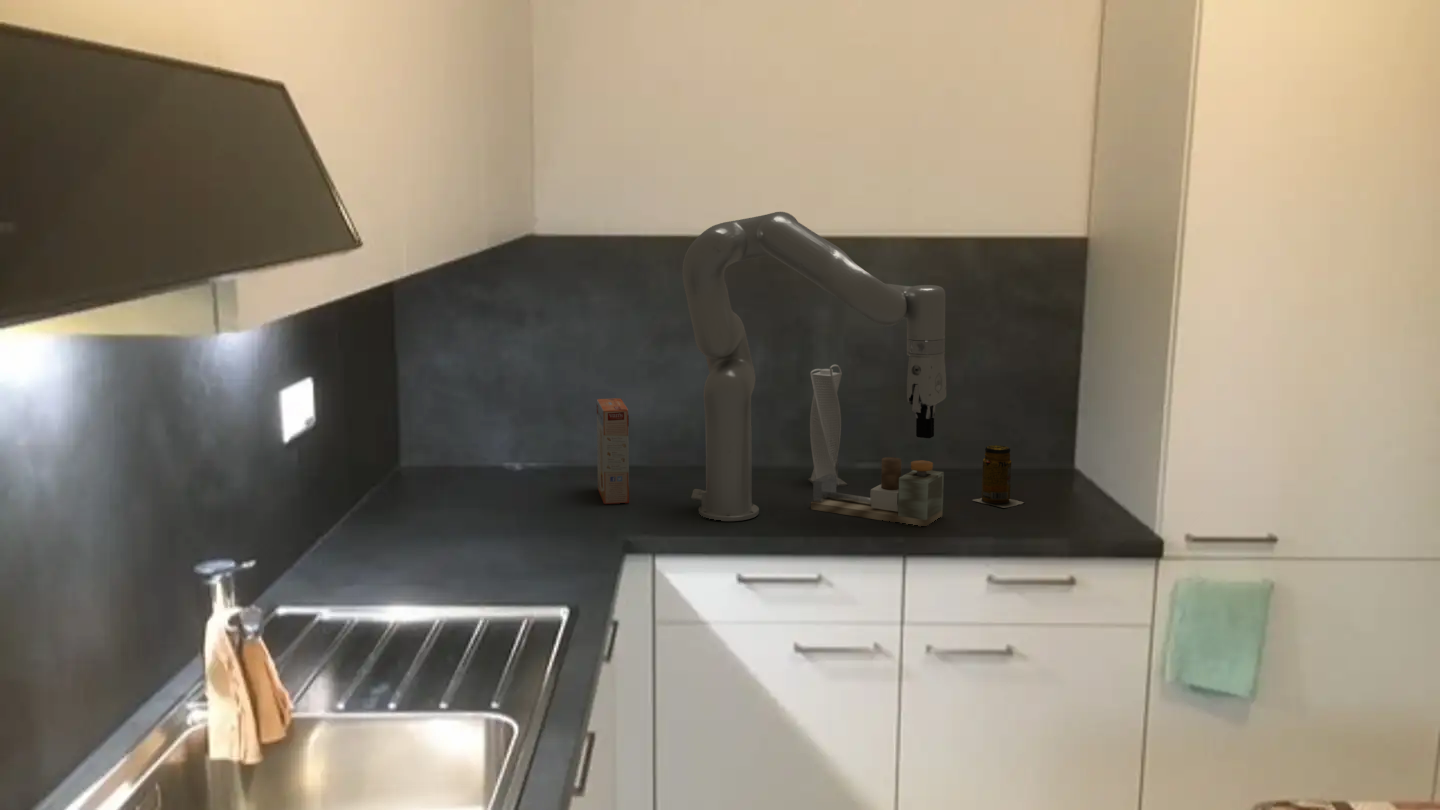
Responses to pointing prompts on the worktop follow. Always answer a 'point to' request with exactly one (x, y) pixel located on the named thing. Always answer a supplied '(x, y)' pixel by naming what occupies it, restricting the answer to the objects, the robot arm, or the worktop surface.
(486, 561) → the worktop surface
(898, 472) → the carriage
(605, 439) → the cracker box
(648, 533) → the worktop surface
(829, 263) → the robot arm
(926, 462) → the button
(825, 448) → the skyscraper
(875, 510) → the rail base
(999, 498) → the condiment
